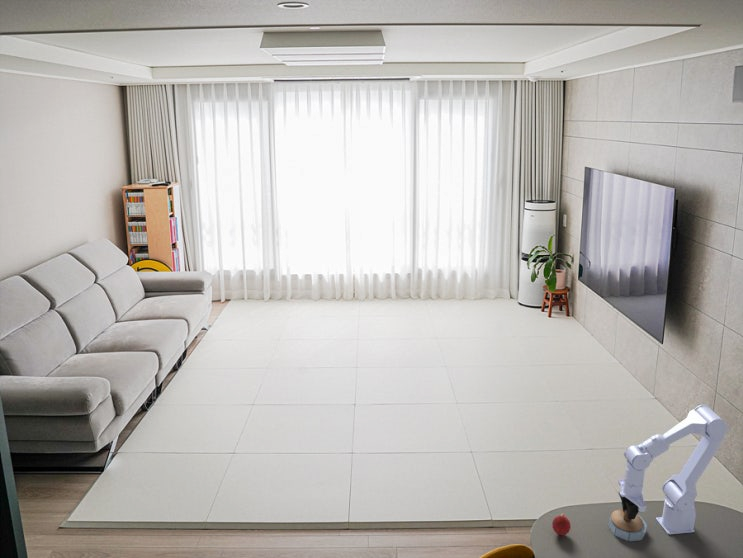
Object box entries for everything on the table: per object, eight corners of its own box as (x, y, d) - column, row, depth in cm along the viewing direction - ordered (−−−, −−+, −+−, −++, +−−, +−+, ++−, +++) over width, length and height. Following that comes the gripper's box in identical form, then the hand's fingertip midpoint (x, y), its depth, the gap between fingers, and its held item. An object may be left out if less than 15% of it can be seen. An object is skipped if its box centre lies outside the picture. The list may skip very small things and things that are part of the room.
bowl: (634, 516, 223) (635, 509, 222) (651, 539, 213) (652, 531, 212) (603, 519, 222) (604, 512, 221) (619, 542, 212) (620, 534, 211)
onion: (570, 541, 212) (572, 521, 210) (552, 539, 214) (553, 519, 211) (568, 529, 218) (570, 510, 215) (551, 527, 219) (552, 507, 216)
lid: (633, 510, 222) (635, 500, 220) (648, 531, 212) (650, 520, 211) (605, 512, 221) (607, 501, 219) (619, 532, 211) (621, 521, 210)
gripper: (611, 468, 218) (607, 502, 222) (633, 496, 204) (628, 531, 209) (631, 466, 219) (627, 500, 223) (654, 494, 205) (648, 529, 209)
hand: (628, 515), depth 216 cm, fingers open, 3 cm apart
